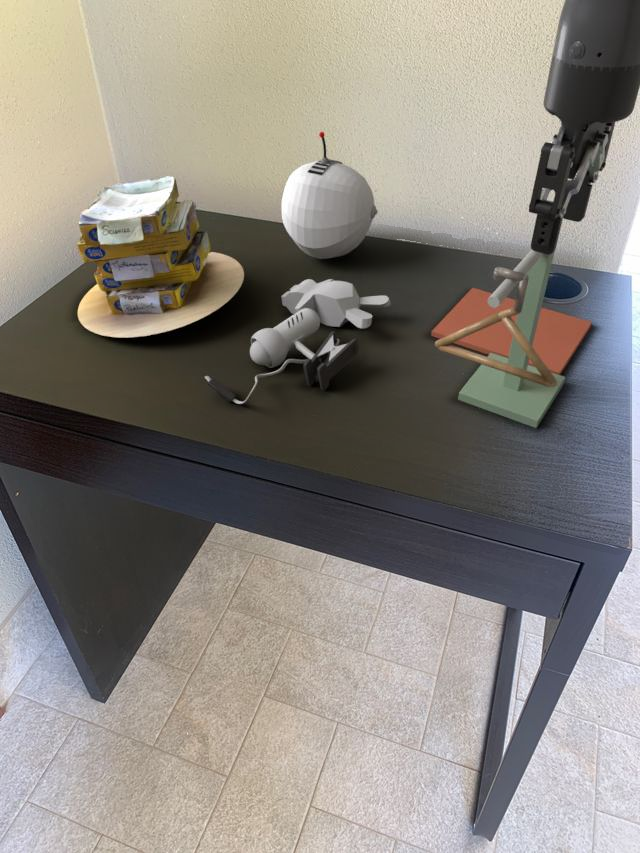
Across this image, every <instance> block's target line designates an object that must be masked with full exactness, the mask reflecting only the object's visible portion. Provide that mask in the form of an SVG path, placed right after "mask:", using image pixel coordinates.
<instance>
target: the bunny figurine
mask: <svg viewBox="0 0 640 853" xmlns="http://www.w3.org/2000/svg"><path fill="white" fill-rule="evenodd" d="M280 298H281V303H282V306H283V307H286V308H287V309H288V311H289V312H290V313H291V314H292V315H294V314H295V313H297V312H298V311H300V310H301V309H304V308H309V309H312V310H314V311H315V312H316V313H317V314H318V316H319V318H320V324H323V325H325V326H328V327H335V328H336V327H337V328H341V327H342V326H344V324H346V323H347V322H350V323H351V324H353V325H354V326H355V327H356V328H358V329H367V328H369V327H371V325H372V322H373V320H372V319H373V315H372V314H371V313H370V312H367V311H365V310H362V309H360V308H361V307H371V308H388V307H390V306H391V305H392V304H391V301H390V298H389V297H388V296H387V295H370V296H362V297H361V296H360V295H359V293H358V292H357V290H356V288H355V285H354V284H353V283H351V282H348V281H344V280H334V279H333V278H329V279H326V280H323V281H320V282H316V281H315V280H313V279H311V278H308V279H307V278H306V279H304V280H302V281H301V282H300V283H299V284H294V285H293V286H292V287H291V288H289V290H288V291H286V292H285V293H283V294H282V295H281V296H280Z"/></svg>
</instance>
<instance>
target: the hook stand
mask: <svg viewBox="0 0 640 853" xmlns="http://www.w3.org/2000/svg"><path fill="white" fill-rule="evenodd" d="M530 249H531V248H530ZM555 252H556V250H555V251H554V252H553V253H552V254H550V255H547V254H543V253H540V252H536V251H533V250H532V249H531V250H530V251H529V252H528V253H527V254H526V255H525V256H524V258H523V259H522V260H521V261H520V262H519V263H518V264H517V265H516V266H515V267H514V268H513V271H517V272H520V273H524V274H527V275H528V276H529V280H528V285H527V289H526V294H525V298H524V303H523V307H522V312H521V313H520V314H518V315H517V320H516V325H517V327H518V328H519V329H520V331H521V332H522V333H523V335H524V336H525V338H526V339H527V340H528V342H529V343H530V344H531V346H532V345H533V341H534V337H535V333H536V328H537V324H538V320H539V316H540V312H541V308H543V307H542V306H543V302H544V298H545V294H546V290H547V286H548V281H549V277H550V273H551V269H552V264H553V261H554V255H555ZM517 285H519V281H516V280H513V279H509V278H506V277H505V279H504V280H503V281H502V282H501V283H500V285H498V287H497V288H496V289H495V291H493V292H492V293H493V294H492V295H491V296H490V297H489V298H488V304H489V306H490V307H492V308H497V307H498V306H499V305H500V304H501V303H502V302H503V301H504V299H505V298H506V297H507V298H508V296H509V295H510V294H511V293H512V291H514V289H515V288H516V287H517ZM487 357H488V358H491V359H494V360H497V361H500V362H503V363H506V364H509V365H512V366H515V367H518V368H521V369H524V370H527V371H530V372H533V373H536V374H539V375H541V374H540V373H539V371H538V370H537V368H536V367H533V366H530V365H528V362H529V357H528V356H527V355H526V353H525V352H524V351H523V349H522V348H521V347H520V345H519V344H518V342H517V341H516V340H515V338H514V337H513V339H512V343H511V348H510V353H509V358H506V357H503V356H499V355H496V354H493V353H490V354H489V355H488V354H487ZM552 375H553V376H554V377H555V379H556V380H557V385H556V386H554V387H547V386H544V385H541V384H538V383H535V382H532V381H529V380H526V379H523V378H520V377H517V376H514V375H512V374H509V373H506V372H503V371H500V370H497V369H494V368H491V367H488V366H485V365H482V364H480V366H478V368H477V369H476V370H475V372H474V373H473V375H471V377H470V378H469V379H468V380H467V382H466V383H465V385H464V386H463V387H462V388H461V389H460V391H459V392H458V397H457V400H458V401H460V402H462V403H465V404H469V405H471V406H474V407H475V408H476V407H477V408H479V409H482V410H484V411H488V412H490V413H493V414H496V415H499V416H502V417H504V418H507V419H510V420H512V421H515V422H518V423H519V424H523V425H526V426H528V427H532V428H534V429H537V428H538V427H539V425H540V423H541V422H542V420H543V418H544V417H545V415H546V413H547V412H548V410H550V407H551V406H552V404H553V403H554V401H555V399H556V397H557V396H558V395H559V393H560V391H561V390H562V388H563V387H564V385H565V380H566V376H564V375H562V374H561V375H557V374H554V373H552Z"/></svg>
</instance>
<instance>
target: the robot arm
mask: <svg viewBox="0 0 640 853" xmlns="http://www.w3.org/2000/svg"><path fill="white" fill-rule="evenodd" d="M639 92H640V0H564V3H563V6H562V9H561V12H560V16H559V19H558V24H557V29H556V35H555V39H554V45H553V51H552V56H551V60H550V67H549V72H548V77H547V82H546V87H545V92H544V97H543V107H544V109H545V111H546V112H547V113H549V115H551V116H555V117H557V118H558V119H559V121H560V126H559V129H558V133H557V134H554V135H553V137H552V139H551V142H547V141H545V142H544V143H543V145H542V147H541V149H540V155H539V161H538V165H537V170H536V174H535V179H534V183H533V188H532V193H531V197H530V202H529V204H528V212H529V213H531V214H535V215H536V218H535V223H534V226H533V227H534V228H533V232H532V237H531V242H530V249H532V250H533V251H536V252H540V253H543V254H547V255H550V254H552V253H553V252H554V251H555V252H556V249H557V245H558V241H559V237H560V232H561V228H562V224H563V220H567V221H572V222H576V223H579V222H581V221H583V219H584V218H585V217H586V213H587V210H588V206H589V205H588V204H589V201H590V197H591V193H592V189H593V186H594V185H593V184H596V182H597V181H598V179H599V176H600V175H599V172H602V171H603V170H604V169H605V167H606V163H607V157H608V153H609V150H610V145H611V141H612V137H613V134H614V129H615V126H616V123H617V122H620V121H623V120H626V118H628V117H630V116H631V115H632V113H633V112H634V110H635V106H636V102H637V98H638V96H639ZM551 191H554V197H553V201H552V200H549V199H548V197H549V195H550V193H551ZM555 252H554V253H555Z"/></svg>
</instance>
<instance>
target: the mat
mask: <svg viewBox="0 0 640 853" xmlns="http://www.w3.org/2000/svg"><path fill="white" fill-rule="evenodd" d="M493 293H494V292H489V291H485V290H482V289H478V288H475V287H472V288H471V289H470V290H469V291H467V293H466V294H465V295H464V296H463V297H462V298H461V299H460V300H459V301H458V303H456V305H455V306H454V307H453V308H452V309H451V310H450V311H449V312H448V313H447V314H446V315H445V316H444V318H443V319H442V320H440V322H439V323H438V324H437V325H436V326H435V327H434V328H433V329H432V330H431V337H433V338H437V339H438V340H439V339H441V338H444V337H446V336H448V335H450V334H452V333H454V332H457V331H459V330H461V329H463V328H465V327H467V326H470V325H472V324H474V323H476V322H478V321H481V320H483V319H485V318H487V317H489V316H491V315H494V314H496V313H498V312H500V311H504V310H507V309H510V308H513V307H514V304H515V300H516V299H513V298H510V297H508V296H507V297H506V298H505V299H504V301H503V302H502V303H501V304H500V305H499V306H498V307H497V308H492V307H490V306H489V304H488V298H489V297H490V296H491V295H492V294H493ZM517 315H518V314H517ZM517 315H514V316H511V318H512V320H513V321H514V322H515V324H516V320H517ZM592 324H593V321H590V320H586V319H582V318H579V317H576V316H572V315H568V314H566V313H561V312H558V311H555V310H552V309H548V308H545V307H541V312H540V316H539V320H538V324H537V328H536V333H535V337H534V341H533V345H532V347H533V349H534V350H535V351H536V353H537V354H538V355H539V357H540V358H541V359H542V361H543V362H544V364H545V365H546V366H547V368H548V369H549V370H550V372H551V373H554V374H557V375H561V376H562V373H563V371H564V370H565V368H566V366H567V365H568V364H569V362H570V361H571V359H572V357H573V356H574V355H575V353H576V351H577V350H578V348H579V346H580V345H581V343H582V341H583V340H584V338H585V337H586V336H587V334H588V333H589V331H590V329H591V328H592ZM512 339H513V336H512V334H511V333H510V332H509V330H508V329H507V327H506V326H505V325H504V323H503V322H502V321H500V322H498V323H495V324H493V325H491V326H489V327H486V328H484V329H482V330H480V331H477V332H475V333H473V334H471V335H468V336H466V337H464V338H462V339H459V340H457V341H455V342H453V343H452V344H455V345H457V346H461V347H464V348H467V349H470V350H473V351H476V352H479V353H481V354H482V353H483V354H485V355H487V356H488V355H489V354H490V353H493V354H496V355H499V356H503V357H506V358H509V353H510V348H511V343H512ZM528 365H530V366H533V367H535V366H534V364H533V363H532V362H531V360H530V359H529V362H528Z"/></svg>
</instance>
